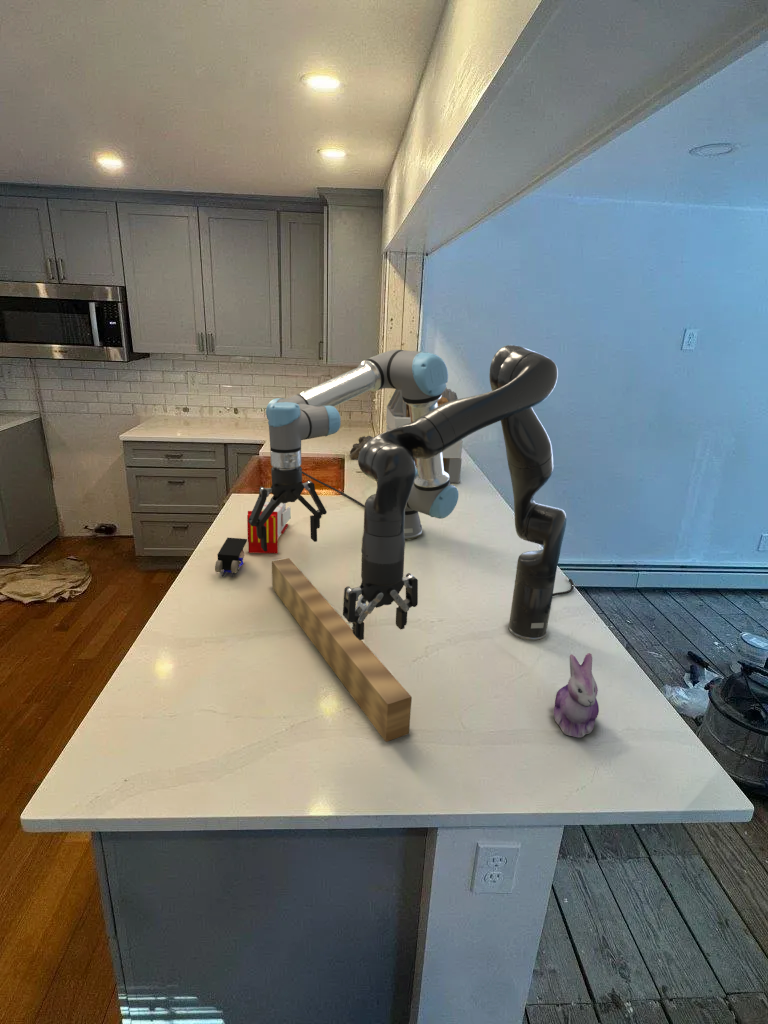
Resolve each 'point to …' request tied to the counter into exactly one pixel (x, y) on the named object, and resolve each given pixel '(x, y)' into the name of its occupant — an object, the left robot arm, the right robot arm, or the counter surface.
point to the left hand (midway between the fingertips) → (289, 544)
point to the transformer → (401, 416)
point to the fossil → (359, 447)
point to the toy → (269, 529)
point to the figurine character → (230, 556)
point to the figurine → (577, 700)
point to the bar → (344, 652)
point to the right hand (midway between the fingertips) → (380, 632)
